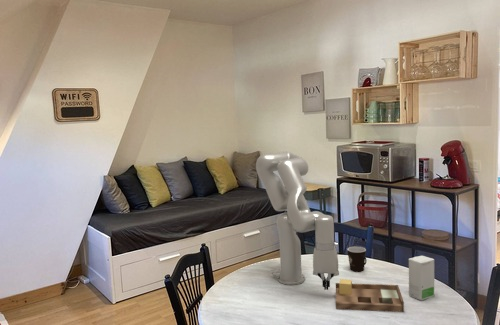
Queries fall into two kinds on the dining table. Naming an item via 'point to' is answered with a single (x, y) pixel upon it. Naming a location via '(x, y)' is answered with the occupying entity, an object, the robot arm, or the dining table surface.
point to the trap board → (371, 298)
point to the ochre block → (345, 286)
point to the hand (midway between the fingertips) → (326, 288)
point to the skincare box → (421, 277)
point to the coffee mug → (357, 258)
